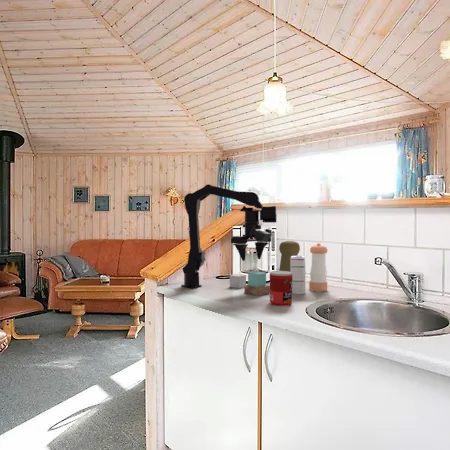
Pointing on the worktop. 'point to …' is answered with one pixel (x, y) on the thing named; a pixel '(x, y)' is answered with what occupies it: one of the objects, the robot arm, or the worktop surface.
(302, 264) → the syrup box
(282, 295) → the canned food
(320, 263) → the pepper shaker
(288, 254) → the pepper shaker
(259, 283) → the teal cube
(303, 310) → the worktop surface
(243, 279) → the grey cube
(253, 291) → the oak slab
